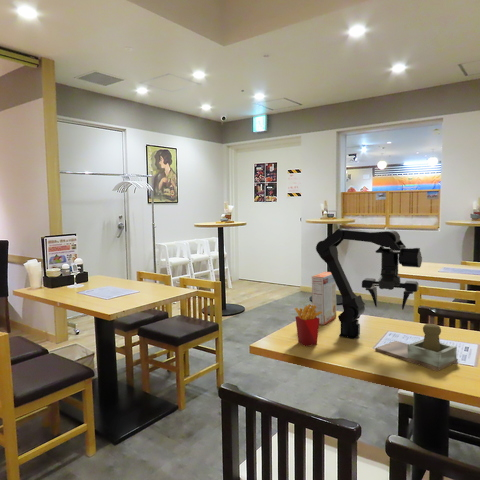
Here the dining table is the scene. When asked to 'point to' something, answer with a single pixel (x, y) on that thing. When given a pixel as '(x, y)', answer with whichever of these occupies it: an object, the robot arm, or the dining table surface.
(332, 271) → the robot arm
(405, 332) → the dining table surface
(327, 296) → the cracker box
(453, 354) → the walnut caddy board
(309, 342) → the french fries
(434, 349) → the cork
